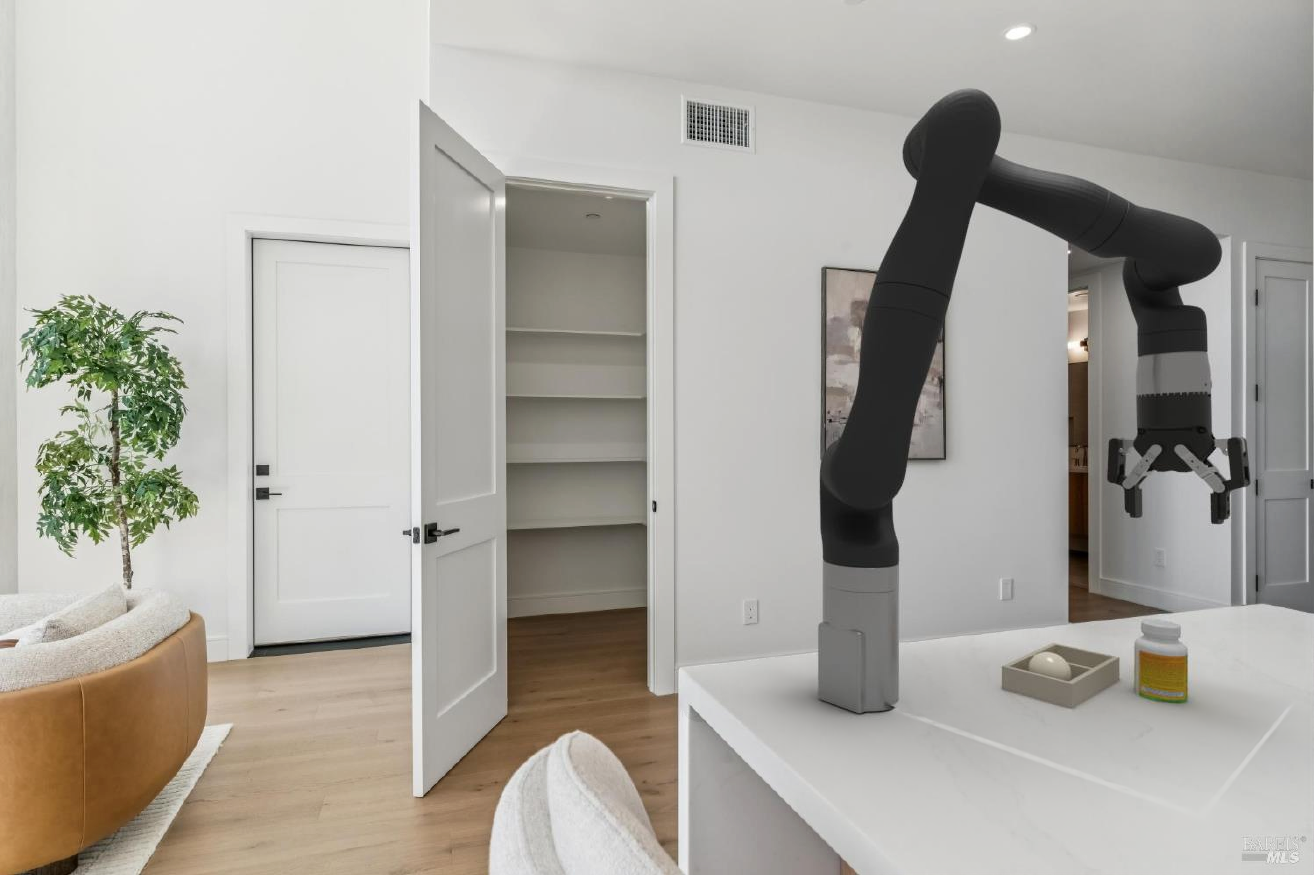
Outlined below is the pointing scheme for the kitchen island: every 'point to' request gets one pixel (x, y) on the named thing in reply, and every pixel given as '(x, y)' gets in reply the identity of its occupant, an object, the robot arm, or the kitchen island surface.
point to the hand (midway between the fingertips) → (1175, 520)
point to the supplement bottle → (1161, 663)
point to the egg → (1050, 666)
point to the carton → (1086, 680)
